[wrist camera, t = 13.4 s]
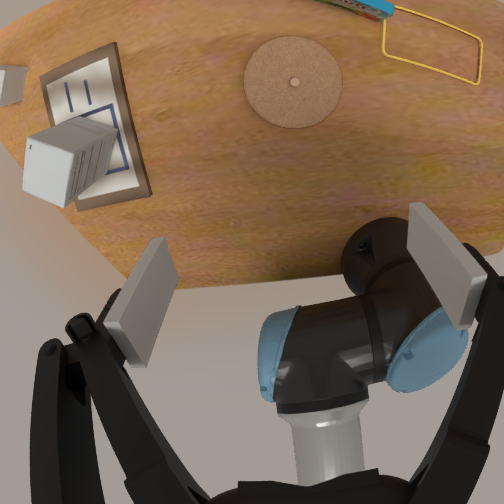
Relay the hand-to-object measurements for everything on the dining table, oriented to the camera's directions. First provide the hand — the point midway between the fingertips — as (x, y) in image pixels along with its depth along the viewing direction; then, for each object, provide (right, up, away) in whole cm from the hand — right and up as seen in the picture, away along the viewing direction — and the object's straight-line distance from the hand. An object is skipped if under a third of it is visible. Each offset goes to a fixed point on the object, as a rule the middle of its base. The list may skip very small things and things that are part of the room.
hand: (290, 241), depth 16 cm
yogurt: (+9, +32, +14) cm, 36 cm away
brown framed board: (-26, +17, +24) cm, 39 cm away
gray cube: (-42, +28, +19) cm, 53 cm away
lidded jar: (+3, +22, +20) cm, 30 cm away
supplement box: (-25, +15, +24) cm, 38 cm away
